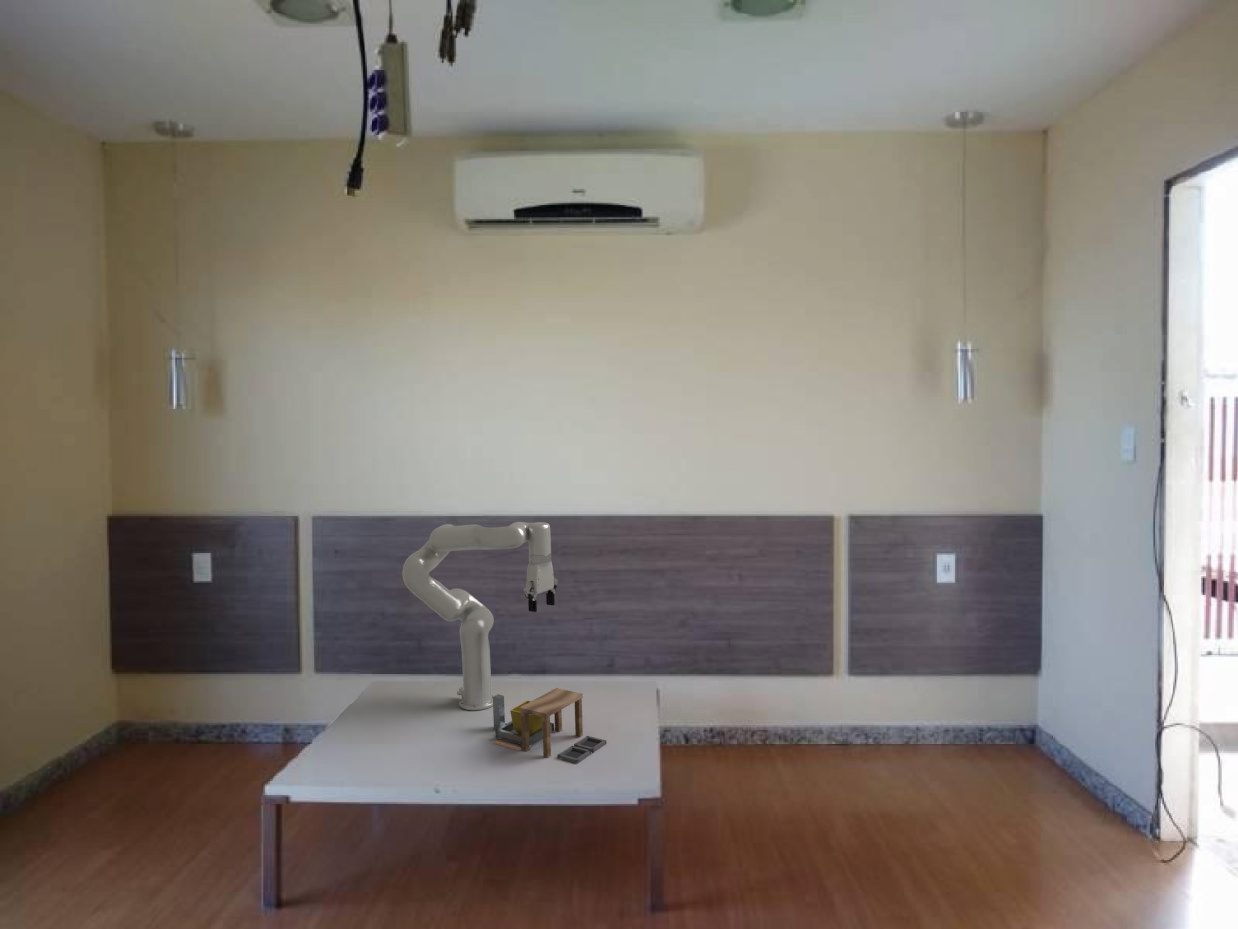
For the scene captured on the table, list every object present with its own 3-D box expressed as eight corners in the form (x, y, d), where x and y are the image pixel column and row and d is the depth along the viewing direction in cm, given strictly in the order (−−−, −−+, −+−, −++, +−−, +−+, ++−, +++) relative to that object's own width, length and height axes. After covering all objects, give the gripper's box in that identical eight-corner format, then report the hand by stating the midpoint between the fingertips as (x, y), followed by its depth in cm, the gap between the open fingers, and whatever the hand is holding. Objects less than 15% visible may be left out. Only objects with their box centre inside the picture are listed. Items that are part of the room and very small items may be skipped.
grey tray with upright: (482, 734, 236) (481, 702, 236) (509, 719, 247) (508, 689, 246) (527, 746, 226) (526, 713, 226) (554, 731, 237) (553, 699, 237)
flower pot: (533, 743, 229) (532, 714, 229) (510, 738, 234) (509, 709, 233) (550, 732, 237) (549, 704, 236) (527, 727, 241) (526, 700, 241)
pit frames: (557, 758, 219) (557, 754, 219) (587, 738, 232) (587, 735, 232) (577, 763, 215) (577, 760, 215) (606, 743, 228) (606, 740, 228)
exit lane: (493, 742, 230) (493, 742, 230) (531, 721, 246) (531, 720, 246) (518, 750, 225) (518, 749, 225) (555, 728, 240) (555, 727, 240)
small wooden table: (521, 750, 225) (519, 707, 224) (557, 728, 240) (556, 688, 239) (547, 758, 219) (546, 713, 218) (583, 735, 234) (582, 693, 233)
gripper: (547, 553, 267) (548, 601, 269) (515, 562, 253) (516, 612, 254) (564, 555, 263) (565, 603, 264) (532, 564, 249) (534, 615, 250)
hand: (541, 608), depth 259 cm, fingers open, 9 cm apart
